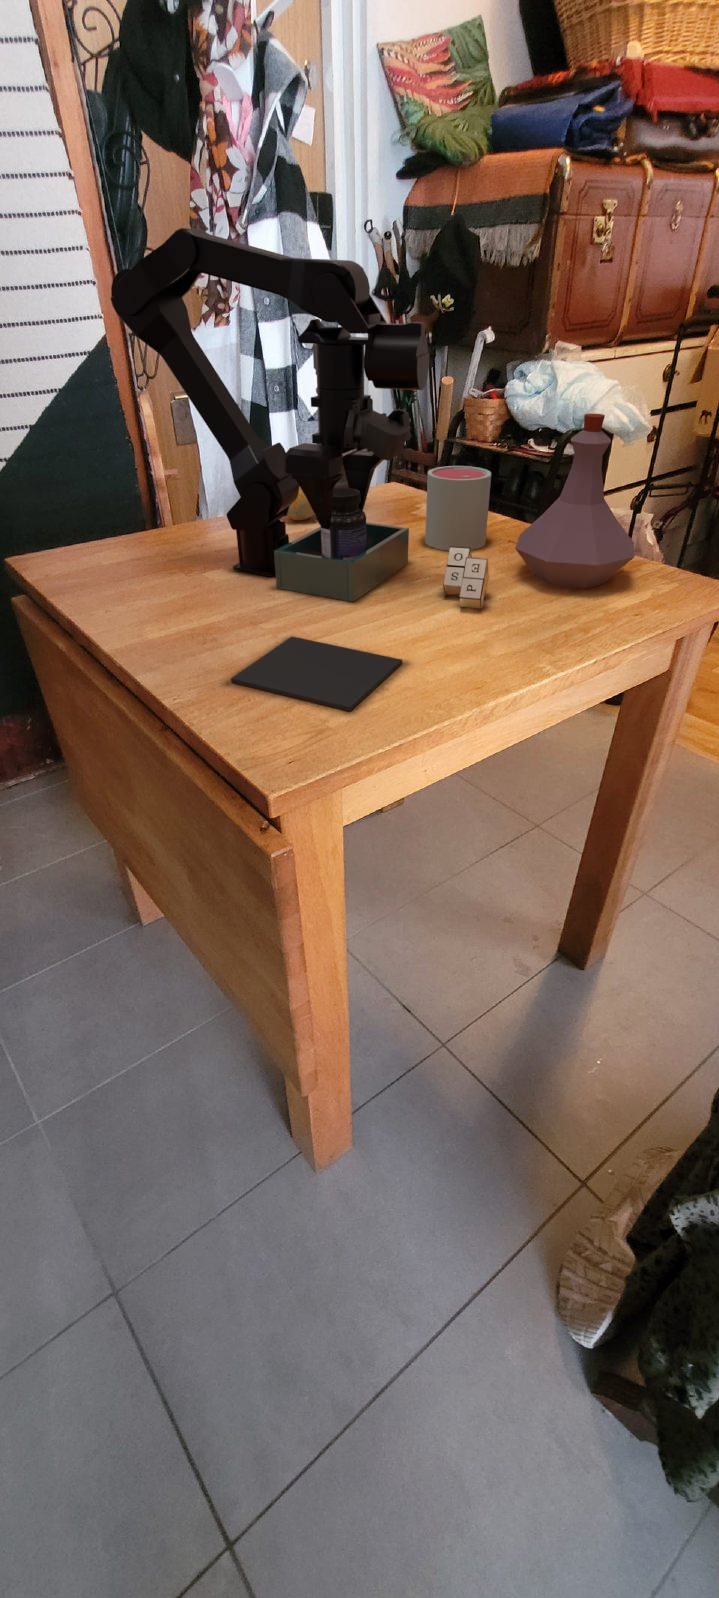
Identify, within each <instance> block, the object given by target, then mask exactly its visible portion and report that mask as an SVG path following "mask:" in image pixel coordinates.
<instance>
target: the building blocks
mask: <svg viewBox="0 0 719 1598" xmlns="http://www.w3.org/2000/svg"><path fill="white" fill-rule="evenodd" d="M489 581H490V573H489V559H488V558H485V557H473V556H472V550H471V548H466V547H453V546H450V549H449V551H448V555H447V561H446V566H445V573H444V577H443V584H442V586H443V592H444V595H447V596H458V598H459V605H460V607H461V608H470V609H471V608H472V609H483V604H484V599H486V598H487V593H488V587H489Z"/></svg>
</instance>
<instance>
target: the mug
mask: <svg viewBox="0 0 719 1598" xmlns="http://www.w3.org/2000/svg"><path fill="white" fill-rule="evenodd" d="M491 481H492V472H491V471H490V470H488V469H486V468H482V467H477V466H468V465H448V466H446V465H445V466H438V467H434V468H431V469H429V470H428V471H427V481H426V506H425V507H426V508H425V512H426V513H425V533H424V543H425V545H427V546H429V547H430V548H433V549H436V550H442V551H447V552H449V549H450V546H453V547H466V548H471V551H473V550H474V551H475V550H477V549H481V548H482V547H484V546H485V545H486V541H487V529H488V517H489V507H490V496H491V494H490V493H491V492H490V491H491V484H492V483H491Z"/></svg>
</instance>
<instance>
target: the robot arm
mask: <svg viewBox="0 0 719 1598" xmlns="http://www.w3.org/2000/svg"><path fill="white" fill-rule="evenodd" d="M202 274H205V275H207V276H211V277H215V278H218V279H222V280H225V281H230V282H233V283H235V284H239V285H242V286H246V287H250V288H253V289H257V290H260V291H264V292H267V293H271V294H274V295H278V296H280V297H282V298H284V299H286V300H287V301H289V302H290V303H292V304H293V305H295V307H297V308H299V309H300V310H301V311H304V312H306V313H308V314H310V315H312V316H314V317H315V318H313V319H310V321H309V323H308V324H307V327H306V328H305V329H304V331H302V333H300V335H298V337H297V341H298V343H299V344H311V345H313V344H316V366H317V375H316V388H317V393H316V395H315V396H311V397H310V407H311V408H317V425H318V427H317V428H318V431H317V432H315V433H313V434H311V443H307V442H304V443H300V444H298V445H295V446H292V447H289V448H288V449H287V451H286V449H285V447H284V446H283V445H282V443H281V442H276V443H274V444H272V445H270V446H269V445H268V444H267V443H265V442H264V441H263V440H262V439H261V438H260V437H259V436H258V434H257V433H256V431H255V430H254V428H253V427H252V425H251V424H250V422H249V421H248V419H247V418H246V416H245V415H244V413H243V411H242V409H241V408H240V406H239V405H238V404H237V402H236V400H235V398H234V397H233V395H232V394H231V392H230V391H229V389H228V388H227V386H226V385H225V383H224V381H223V380H222V378H221V377H220V375H219V374H218V371H216V369H215V367H214V366H213V364H212V363H211V361H210V360H209V358H208V356H207V355H206V354H205V352H204V350H203V348H202V347H201V346H200V343H199V342H198V341H197V339H196V338H195V336H194V334H193V331H192V326H191V321H190V316H189V313H188V308H187V306H186V303H185V301H184V299H183V298H184V297H185V296H186V295H187V294H189V292H191V290H192V289H193V287H194V286H195V284H196V283H197V281H198V280H199V278H200V276H201V275H202ZM110 289H111V292H110V295H111V296H110V302H111V306H112V308H113V310H114V312H115V314H116V315H117V316H118V317H119V319H120V320H121V322H123V323H124V324H125V326H126V327H127V328H128V329H129V330H130V331H131V332H132V334H133V335H134V336H135V337H136V338H137V339H139V340H140V341H142V342H143V343H144V344H146V345H147V346H148V347H149V348H151V349H152V350H154V351H155V352H156V353H157V354H158V355H160V357H161V358H162V360H163V361H164V362H165V364H166V365H167V367H168V369H169V370H170V372H171V373H172V375H173V376H174V378H175V379H176V381H177V382H178V384H179V385H180V387H181V388H182V390H183V392H184V393H185V394H186V396H187V397H188V399H189V401H190V403H191V404H192V405H193V407H194V408H195V410H196V411H197V412H198V415H199V416H200V417H201V419H202V420H203V422H204V423H205V425H206V426H207V428H208V429H209V431H210V432H211V434H212V436H213V438H214V439H215V440H216V442H217V443H218V445H219V446H220V448H221V449H222V451H223V452H224V453H225V455H226V457H227V459H228V461H229V465H230V471H231V475H232V480H233V484H234V486H235V489H236V491H237V493H238V495H239V499H238V500H237V501H236V502H235V503H234V504H233V505H232V506H231V508H230V509H229V510H228V511H227V513H226V518H227V520H228V524H229V525H230V528H231V529H232V530H234V531H236V533H235V534H236V543H237V553H238V562H237V563H236V564H234V565H232V569H233V571H238V572H245V573H249V574H256V575H261V576H267V577H272V576H274V575H276V572H275V558H274V551H275V550H277V549H278V548H280V547H282V546H284V545H286V544H288V543H290V536H289V534H288V533H287V529H286V527H287V526H286V522H285V521H282V520H281V519H283V518H284V517H285V518H286V517H287V514H288V511H289V507H290V505H291V504H292V503H293V502H294V501H295V500H296V499H297V496H298V494H299V486H300V488H301V489H302V491H303V493H304V495H305V496H306V498H307V500H308V502H309V504H310V506H311V508H312V510H313V512H314V514H313V515H314V516H315V518H316V520H317V522H318V524H319V527H321V528H323V529H329V528H330V524H331V517H332V503H333V489H334V486H335V485H336V484H337V482H338V481H339V480H340V479H341V478H342V477H343V474H338V473H340V471H341V468H342V465H343V466H344V470H345V474H346V478H347V482H348V487H349V488H352V489H357V490H359V491H360V496H361V502H360V504H359V509H361V510H363V511H364V509H365V504H366V501H367V498H368V494H369V490H370V487H371V483H372V479H373V477H374V474H375V471H376V468H377V467H378V466H380V464H381V463H383V462H384V461H391V460H393V458H395V457H400V456H401V455H402V453H403V450H404V448H405V444H406V442H408V441H409V440H411V438H412V433H411V430H412V426H410V425H411V424H410V413H409V412H408V411H406V410H403V409H402V408H397V409H393V410H392V411H391V412H390V413H389V414H388V415H387V413H385V412H383V413H379V412H378V411H375V410H374V407H373V406H374V400H373V398H371V397H372V396H371V394H365V377H366V378H367V381H368V382H371V383H372V385H373V387H374V388H375V389H378V390H379V389H380V390H404V391H405V390H406V391H409V390H410V391H423V390H424V389H425V388H426V385H427V381H428V376H429V369H430V353H429V350H428V349H429V348H428V340H427V336H426V334H425V333H426V323H425V322H424V321H412V322H408V323H388V322H387V320H386V318H385V317H384V315H383V313H382V312H381V310H380V308H379V306H378V305H377V303H376V301H375V300H374V298H373V297H372V295H371V293H370V291H371V286H370V282H369V277H368V275H367V274H366V271H365V269H364V268H363V266H361V265H360V264H359V263H357V262H355V261H353V260H347V259H328V258H327V259H326V258H302V257H293V256H289V255H285V254H281V253H278V252H274V251H271V250H267V249H264V248H259V247H257V246H253V245H249V244H246V243H242V242H239V241H235V240H231V239H227V238H225V237H220V236H217V235H214V234H210V233H208V232H206V231H205V230H204V229H201V228H187V227H186V228H185V227H180V228H178V229H175V231H174V232H173V233H172V234H171V235H170V236H169V237H168V238H167V239H166V240H165V241H164V242H163V243H162V244H161V245H159V246H158V247H156V248H155V249H153V250H152V251H151V252H149V253H148V254H146V255H145V256H143V257H142V258H141V259H140V260H138V261H137V262H136V263H135V264H134V265H133V266H132V267H130V268H129V267H128V268H123V269H121V270H119V271H118V272H116V274H115V276H114V277H113V279H112V283H111V287H110ZM321 320H322V321H324V322H326V323H336V324H338V325H339V326H326V325H324V324H323V322H322V321H321ZM351 334H354V335H355V334H362V335H365V334H366V335H367V336H365V337H362V336H352V335H351ZM318 444H322V445H318Z"/></svg>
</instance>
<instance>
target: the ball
mask: <svg viewBox="0 0 719 1598" xmlns="http://www.w3.org/2000/svg"><path fill="white" fill-rule="evenodd" d="M314 515H315V514H314V512H313V510H312V508H311V506H310V504H309V502H308V500H307V498H306V496H305V495H304V493H303V491H302V489H301V488H300V486H299V494H298V496H297V499H296V500H295V501H294V502H293V503H292V504H291V505H290V507H289V511H288V514H287V516H286V517H287V518H289V519H291V520H293V521H304V520H307V519H309V518H311V517H312V516H314Z"/></svg>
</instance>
